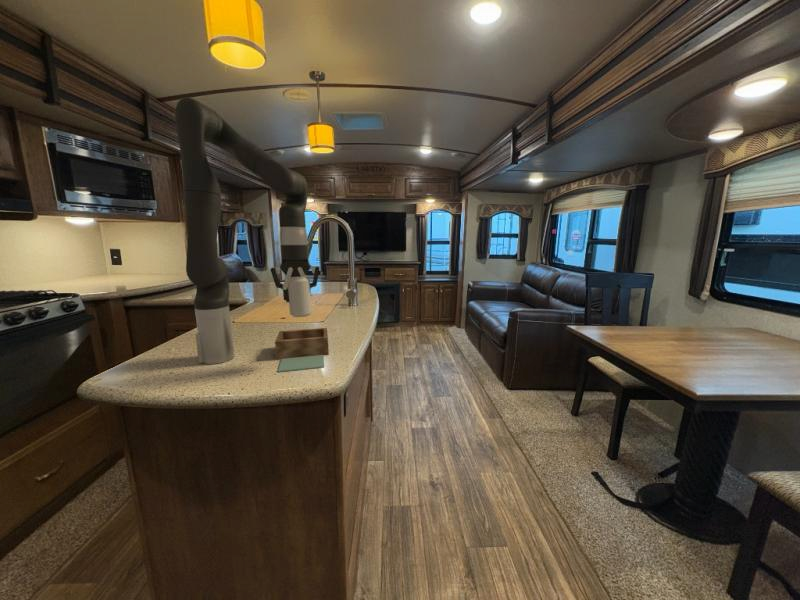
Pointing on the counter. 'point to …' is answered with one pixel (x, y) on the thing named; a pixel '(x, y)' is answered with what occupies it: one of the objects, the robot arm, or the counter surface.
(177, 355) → the counter surface
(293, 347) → the walnut holder
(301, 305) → the beverage can
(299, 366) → the rubber mat
